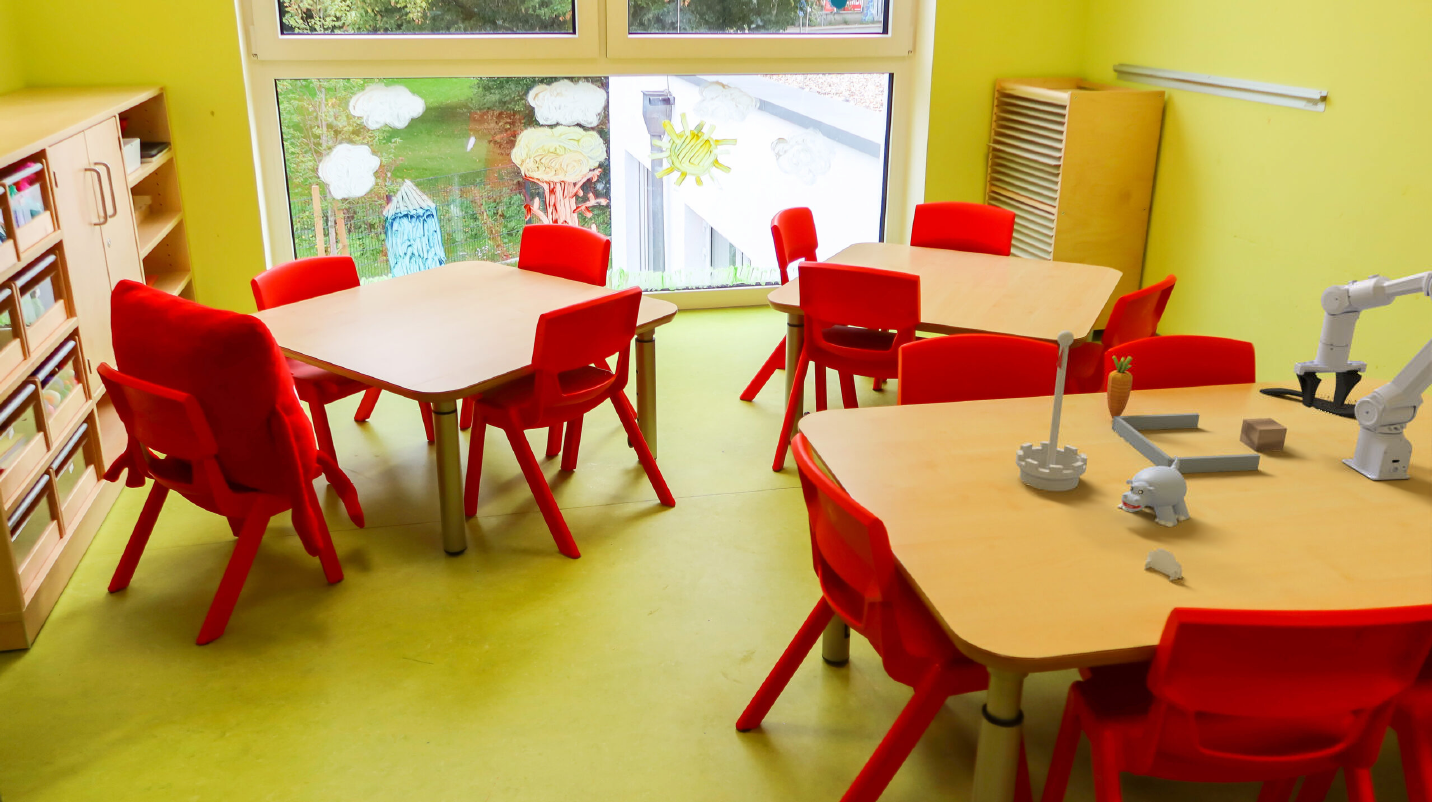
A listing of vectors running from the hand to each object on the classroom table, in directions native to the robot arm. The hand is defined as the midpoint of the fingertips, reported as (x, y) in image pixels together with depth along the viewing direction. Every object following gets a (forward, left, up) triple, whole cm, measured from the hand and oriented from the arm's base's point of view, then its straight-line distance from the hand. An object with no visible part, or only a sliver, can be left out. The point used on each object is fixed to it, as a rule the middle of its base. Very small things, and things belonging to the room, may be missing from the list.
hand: (1322, 405), depth 229 cm
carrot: (+17, +36, -9) cm, 41 cm away
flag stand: (-12, +63, -9) cm, 65 cm away
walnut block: (0, +12, -9) cm, 15 cm away
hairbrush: (+22, -15, -9) cm, 28 cm away
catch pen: (0, +29, -8) cm, 30 cm away
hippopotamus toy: (-29, +51, -9) cm, 59 cm away
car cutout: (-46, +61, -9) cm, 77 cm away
